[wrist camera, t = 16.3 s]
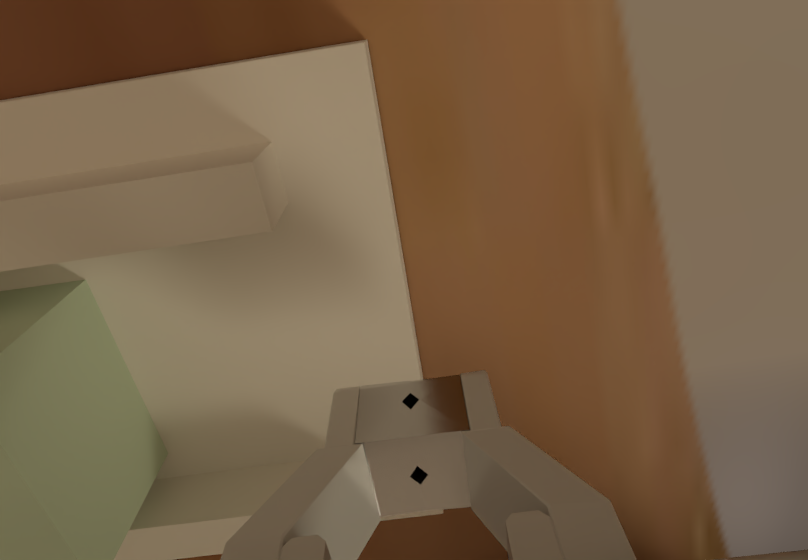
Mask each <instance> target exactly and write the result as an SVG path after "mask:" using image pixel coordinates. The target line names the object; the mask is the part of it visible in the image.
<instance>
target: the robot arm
mask: <svg viewBox="0 0 808 560" xmlns="http://www.w3.org/2000/svg"><path fill="white" fill-rule="evenodd" d="M465 507H471V509H472V511H473V512H474V513H475V514H476V515H477V516H478V518H479V519H480V520H481V521H482V522H483V524H484V525H485V526H486V527H487V528H488V529H489V531H490V532H491V533H492V534H493V535H494V537H495V538H496V539H497V540H498V541H499V542H500V544H501V545H502V546H503V547H504V548H505V550H506V551H507V552H508V560H637V559H636V557H635V555H634V553H633V550H632V548H631V546H630V544H629V541H628V539H627V537H626V535H625V533H624V530H623V528H622V526H621V524H620V521H619V519H618V517H617V515H616V512H615V510H614V508H613V506H612V504H611V501H610V500H609V499H607V498H606V497H605V496H603V495H602V494H601V493H599V492H598V491H596V490H595V489H594V488H592V487H591V486H590V485H588V484H587V483H586V482H584V481H583V480H582V479H580V478H579V477H578V476H576V475H575V474H573V473H572V472H571V471H569V470H568V469H567V468H565V467H564V466H563V465H561V464H560V463H559V462H557V461H556V460H555V459H553V458H552V457H550V456H549V455H548V454H546V453H545V452H544V451H542V450H541V449H540V448H538V447H537V446H536V445H534V444H533V443H532V442H530V441H529V440H527V439H526V438H525V437H523V436H522V435H521V434H519V433H518V432H517V431H515V430H514V429H513V428H511V427H510V426H505V427H501V423H500V419H499V416H498V412H497V408H496V404H495V401H494V397H493V393H492V389H491V385H490V382H489V378H488V374H487V372H486V371H485V370H481V371H475V372H468V373H462V374H460V375H453V376H446V377H438V378H430V379H423V380H415V381H403V382H393V383H383V384H374V385H364V386H361V387H360V386H357V387H348V388H339V389H336V390H335V392H334V393H333V399H332V405H331V411H330V416H329V422H328V428H327V434H326V440H325V446H324V448H321V449H316V450H315V451H314V452H313V453H312V455H311V456H310V457H309V458H308V459H307V460H306V461H305V462H304V463H303V464H302V465H301V466H300V467H299V468H298V469H297V470H296V471H295V472H294V473H293V474H292V475H291V476H290V477H289V478H288V479H287V480H286V481H285V482H284V483H283V484H282V485H281V486H280V487H279V489H278V490H277V491H276V492H275V493H274V494H273V495H272V496H271V497H270V498H269V499H268V500H267V501H266V502H265V503H264V504H263V505H262V506H261V507H260V508H259V509H258V510H257V511H256V512H255V513H254V514H253V515H252V516H251V517H250V518H249V519H248V520H247V522H246V523H245V524H244V525H243V526H242V527H241V528H240V529H239V530H238V531H237V532H236V533H235V534H234V535H233V536H232V537H231V538H230V539H229V540H228V541H227V542H226V544H225V547H224V550H223V553H222V556H221V559H220V560H357V559H358V557H359V556H360V554H361V552H362V551H363V549H364V547H365V546H366V544H367V542H368V541H369V539H370V537H371V535H372V534H373V532H374V530H375V529H376V527H377V525H378V524H379V522H380V520H381V519H380V517H385V516H392V515H399V514H406V513H413V512H420V511H425V510H426V511H429V510H441V509H453V508H465ZM714 560H808V550H800V551H791V552H780V553H771V554H762V555H752V556H742V557H733V558H723V559H714Z"/></svg>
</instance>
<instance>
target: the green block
mask: <svg viewBox="0 0 808 560" xmlns="http://www.w3.org/2000/svg"><path fill="white" fill-rule="evenodd" d="M167 455H168V452H167V450H166V448H165V445H164V443H163V441H162V439H161V437H160V435H159V433H158V431H157V429H156V426H155V424H154V422H153V420H152V418H151V416H150V414H149V412H148V410H147V407H146V405H145V403H144V401H143V399H142V397H141V395H140V393H139V391H138V388H137V386H136V384H135V382H134V380H133V378H132V376H131V374H130V372H129V370H128V367H127V365H126V363H125V361H124V359H123V357H122V355H121V353H120V351H119V348H118V346H117V344H116V342H115V340H114V338H113V336H112V334H111V332H110V329H109V327H108V325H107V323H106V321H105V319H104V317H103V315H102V313H101V310H100V308H99V306H98V304H97V302H96V300H95V298H94V296H93V294H92V291H91V289H90V287H89V285H88V283H87V281H86V280H79V281H72V282H64V283H57V284H50V285H42V286H35V287H28V288H21V289H13V290H6V291H0V560H114V558H115V556H116V554H117V552H118V550H119V549H120V547H121V545H122V543H123V541H124V539H125V537H126V535H127V533H128V531H129V529H130V527H131V525H132V523H133V521H134V519H135V517H136V515H137V513H138V511H139V510H140V508H141V506H142V504H143V502H144V500H145V498H146V496H147V494H148V492H149V490H150V488H151V486H152V484H153V482H154V480H155V478H156V476H157V474H158V473H159V471H160V469H161V467H162V465H163V463H164V461H165V459H166V457H167Z"/></svg>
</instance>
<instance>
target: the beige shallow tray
mask: <svg viewBox="0 0 808 560" xmlns="http://www.w3.org/2000/svg"><path fill="white" fill-rule="evenodd" d="M79 280H86V281H87V283H88V285H89V287H90V289H91V291H92V294H93V296H94V298H95V300H96V302H97V304H98V306H99V308H100V310H101V313H102V315H103V317H104V319H105V321H106V323H107V325H108V327H109V329H110V332H111V334H112V336H113V338H114V340H115V342H116V344H117V346H118V348H119V351H120V353H121V355H122V357H123V359H124V361H125V363H126V365H127V367H128V370H129V372H130V374H131V376H132V378H133V380H134V382H135V384H136V386H137V388H138V391H139V393H140V395H141V397H142V399H143V401H144V403H145V405H146V407H147V410H148V412H149V414H150V416H151V418H152V420H153V422H154V424H155V426H156V429H157V431H158V433H159V435H160V437H161V439H162V441H163V443H164V445H165V448H166V450H167V452H168V455H167V457H166V459H165V461H164V463H163V465H162V467H161V469H160V471H159V473H158V474H157V476H156V478H155V480H154V482H153V484H152V486H151V488H150V490H149V492H148V494H147V496H146V498H145V500H144V502H143V504H142V506H141V508H140V510H139V511H138V513H137V515H136V517H135V519H134V521H133V523H132V525H131V527H130V529H129V531H128V533H127V535H126V537H125V539H124V541H123V543H122V545H121V547H120V549H119V550H118V552H117V554H116V556H115V558H114V560H174V559H182V558H191V557H199V556H208V555H216V554H222V553H223V550H224V547H225V544H226V542H227V541H228V540H229V539H230V538H231V537H232V536H233V535H234V534H235V533H236V532H237V531H238V530H239V529H240V528H241V527H242V526H243V525H244V524H245V523H246V522H247V520H248V519H249V518H250V517H251V516H252V515H253V514H254V513H255V512H256V511H257V510H258V509H259V508H260V507H261V506H262V505H263V504H264V503H265V502H266V501H267V500H268V499H269V498H270V497H271V496H272V495H273V494H274V493H275V492H276V491H277V490H278V489H279V487H280V486H281V485H282V484H283V483H284V482H285V481H286V480H287V479H288V478H289V477H290V476H291V475H292V474H293V473H294V472H295V471H296V470H297V469H298V468H299V467H300V466H301V465H302V464H303V463H304V462H305V461H306V460H307V459H308V458H309V457H310V456H311V455H312V453H313V452H314V451H315V450H316V449H321V448H324V446H325V440H326V434H327V428H328V422H329V416H330V411H331V405H332V399H333V393H334V392H335V390H336V389H339V388H348V387H357V386H360V387H361V386H364V385H374V384H383V383H393V382H403V381H415V380H423V374H422V368H421V362H420V356H419V350H418V344H417V338H416V332H415V326H414V320H413V314H412V308H411V302H410V296H409V290H408V283H407V277H406V271H405V265H404V259H403V253H402V247H401V241H400V235H399V229H398V223H397V217H396V211H395V205H394V199H393V193H392V187H391V181H390V175H389V168H388V162H387V156H386V150H385V144H384V138H383V132H382V126H381V120H380V114H379V108H378V102H377V96H376V90H375V84H374V78H373V72H372V66H371V59H370V53H369V47H368V41H367V40H361V41H355V42H349V43H343V44H337V45H331V46H325V47H319V48H313V49H307V50H301V51H295V52H288V53H282V54H276V55H270V56H264V57H258V58H252V59H246V60H240V61H234V62H228V63H222V64H216V65H210V66H204V67H198V68H192V69H186V70H180V71H174V72H168V73H162V74H156V75H150V76H144V77H138V78H132V79H126V80H120V81H114V82H108V83H102V84H96V85H90V86H84V87H78V88H72V89H66V90H60V91H54V92H48V93H42V94H36V95H30V96H24V97H18V98H12V99H6V100H0V291H6V290H13V289H21V288H28V287H35V286H42V285H50V284H57V283H64V282H72V281H79ZM435 514H443V509H441V510H429V511H426V510H425V511H420V512H413V513H406V514H399V515H392V516H385V517H380V519H381V520H380V521H385V520H393V519H402V518H410V517H419V516H427V515H435Z"/></svg>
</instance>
